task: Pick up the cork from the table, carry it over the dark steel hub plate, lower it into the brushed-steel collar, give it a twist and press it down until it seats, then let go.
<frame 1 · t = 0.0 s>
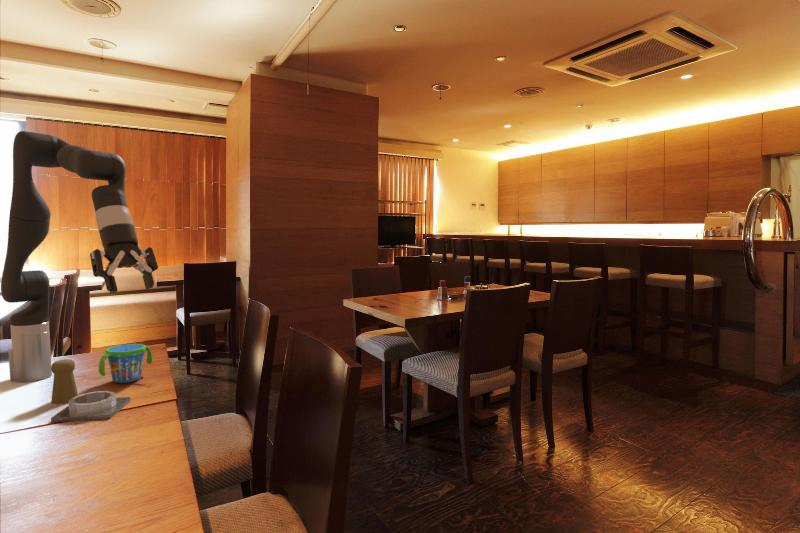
hand: (132, 290, 111), 31 cm above the table, tool tilted 20°, fingers open, 8 cm apart
cork: (65, 400, 124), on the table
snack cup: (127, 380, 141), on the table
hub: (93, 410, 117), on the table
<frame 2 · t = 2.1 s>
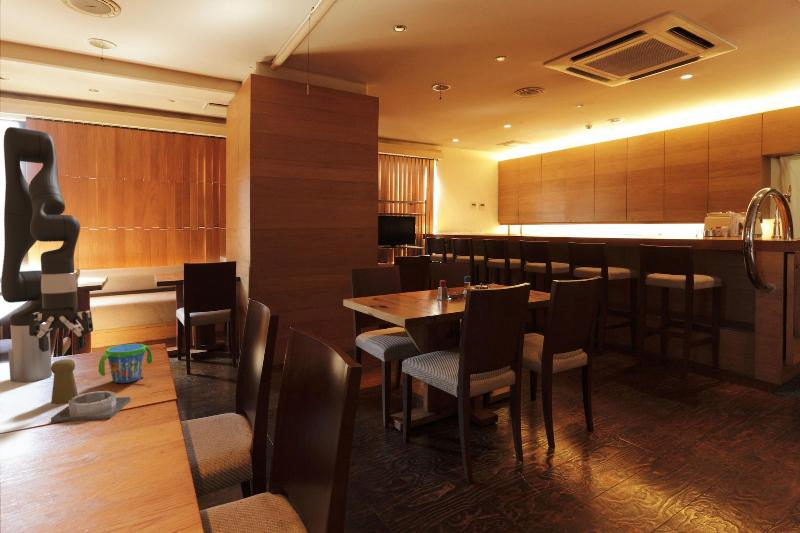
hand: (62, 350, 123), 14 cm above the table, tool pointing down, fingers open, 8 cm apart
nothing on the table moved.
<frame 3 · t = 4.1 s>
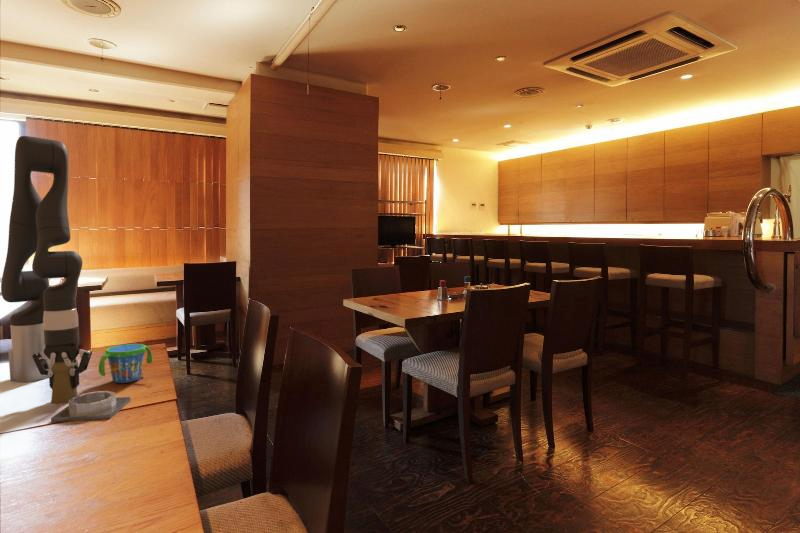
hand: (64, 388, 123), 3 cm above the table, tool pointing down, fingers closed on cork, 4 cm apart
cork: (65, 400, 124), on the table, touching gripper
everything else where it was.
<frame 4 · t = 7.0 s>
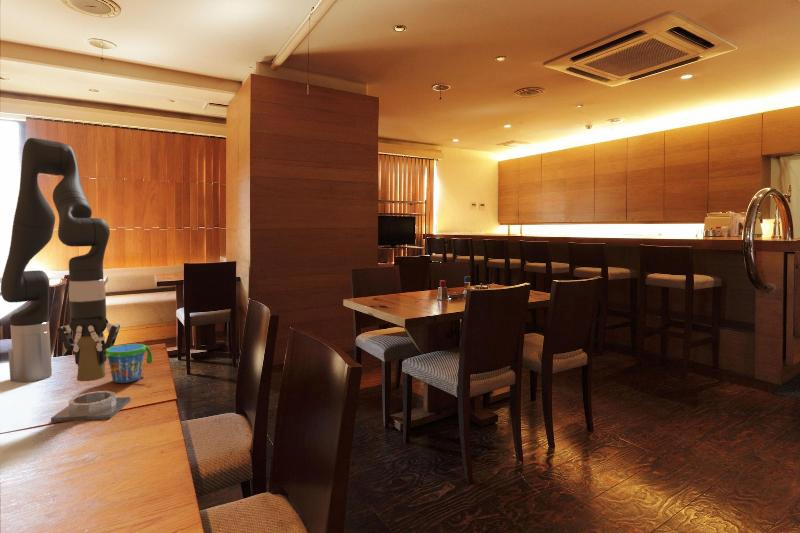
hand: (91, 364, 116), 12 cm above the table, tool pointing down, fingers closed on cork, 4 cm apart
cork: (91, 378, 116), point 8 cm above the table, touching gripper
everything else where it was.
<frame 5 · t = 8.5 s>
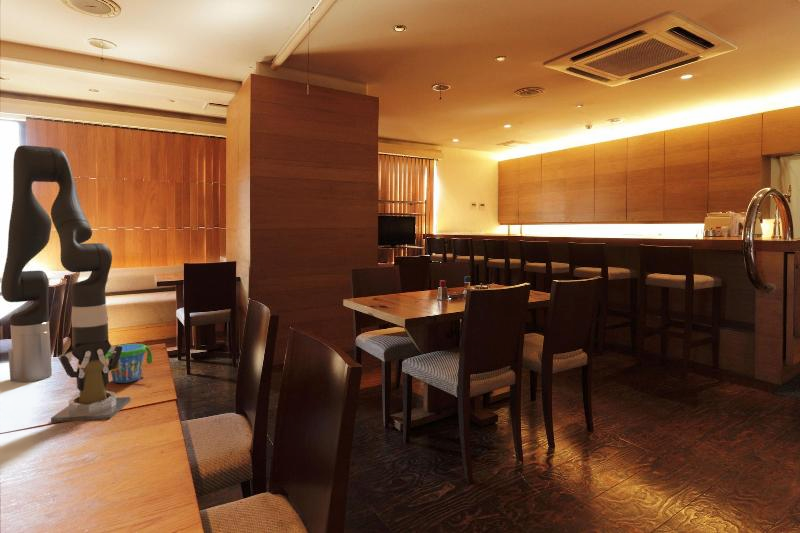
hand: (93, 388, 117), 6 cm above the table, tool pointing down, fingers closed on cork, 4 cm apart
cork: (93, 402, 117), point 2 cm above the table, touching gripper
everything else where it was.
when the fingers open (5 cm above the table, at t = 9.9 s): cork stays where it is, resting on hub.
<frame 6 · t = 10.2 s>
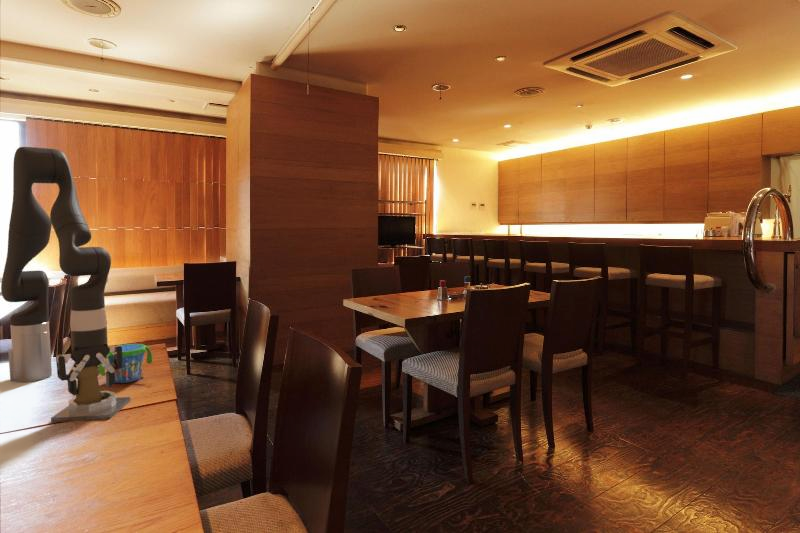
hand: (92, 390, 116), 5 cm above the table, tool pointing down, fingers open, 7 cm apart
cork: (89, 408, 116), point 1 cm above the table, touching hub
everything else where it was.
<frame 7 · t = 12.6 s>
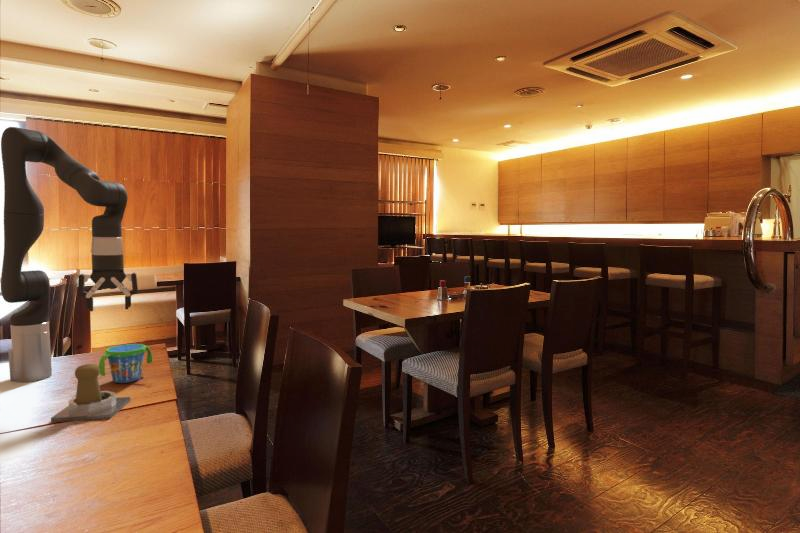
hand: (109, 309, 130), 23 cm above the table, tool pointing down, fingers open, 8 cm apart
nothing on the table moved.
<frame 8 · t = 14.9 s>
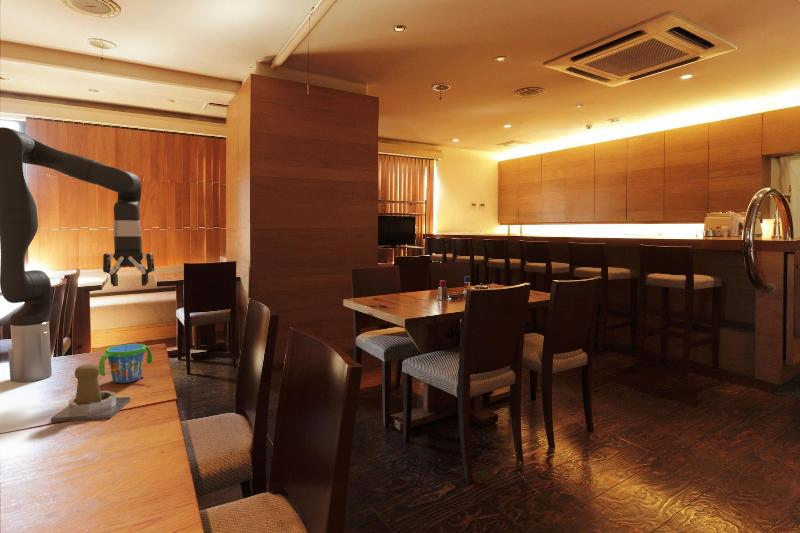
hand: (129, 285, 146), 28 cm above the table, tool pointing down, fingers open, 8 cm apart
nothing on the table moved.
at the end: cork 0.8 cm off-centre on the hub, point 0.8 cm above the hub's base; cork tilted 0°; the gripper is holding nothing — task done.
